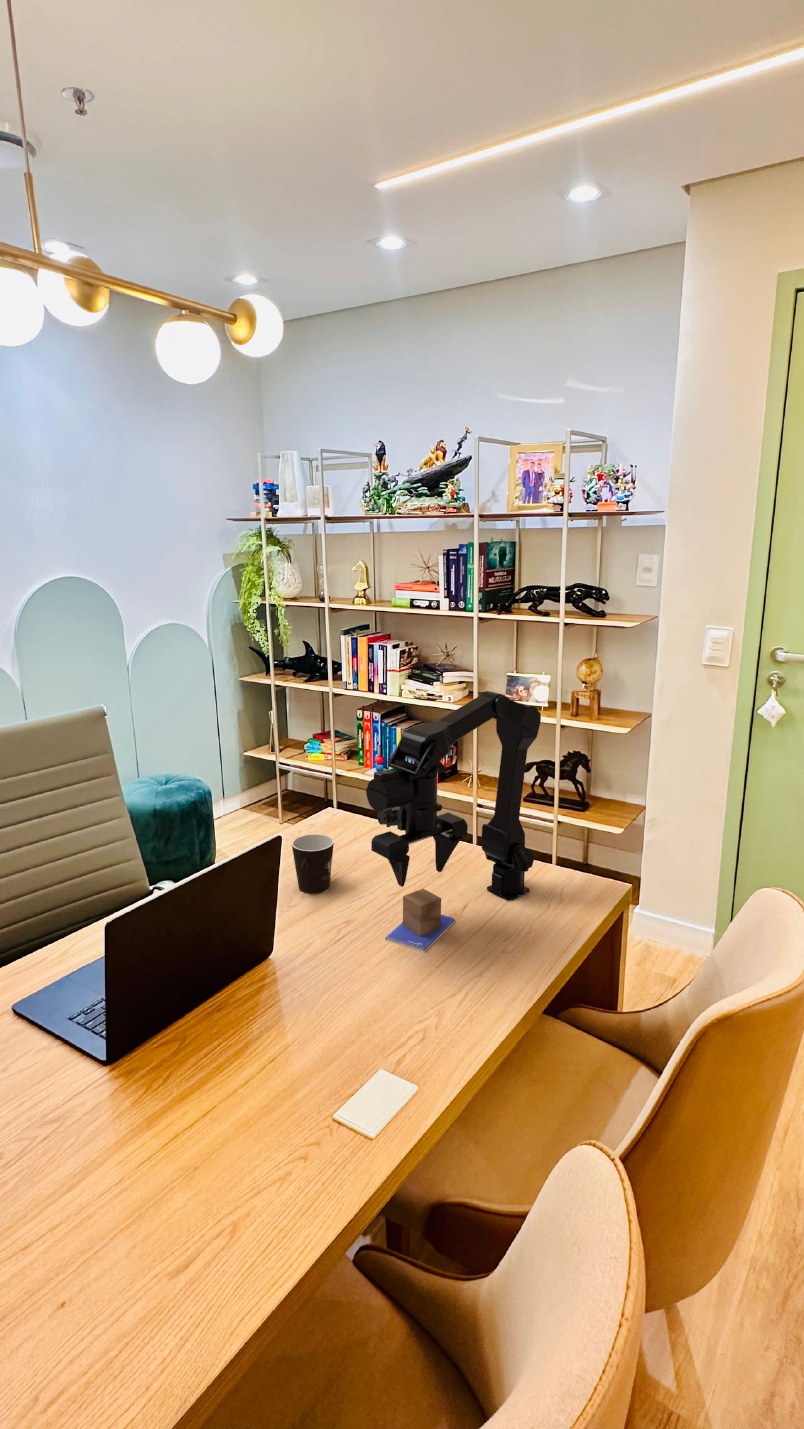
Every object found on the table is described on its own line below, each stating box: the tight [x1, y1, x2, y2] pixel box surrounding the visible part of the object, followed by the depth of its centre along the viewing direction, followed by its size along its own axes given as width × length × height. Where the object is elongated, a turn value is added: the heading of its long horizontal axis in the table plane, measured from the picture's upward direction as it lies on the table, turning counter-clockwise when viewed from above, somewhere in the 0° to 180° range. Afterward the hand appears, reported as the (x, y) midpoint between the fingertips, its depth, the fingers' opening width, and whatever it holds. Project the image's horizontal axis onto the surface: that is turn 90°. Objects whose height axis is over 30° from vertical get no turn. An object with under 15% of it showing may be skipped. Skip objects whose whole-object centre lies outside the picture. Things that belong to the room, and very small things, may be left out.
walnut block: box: [402, 888, 442, 936], centre depth 144 cm, size 5×5×6 cm
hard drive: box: [384, 914, 456, 953], centre depth 145 cm, size 2×8×12 cm
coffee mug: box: [291, 833, 335, 895], centre depth 159 cm, size 12×9×10 cm
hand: (420, 878), depth 142 cm, fingers open, 9 cm apart
